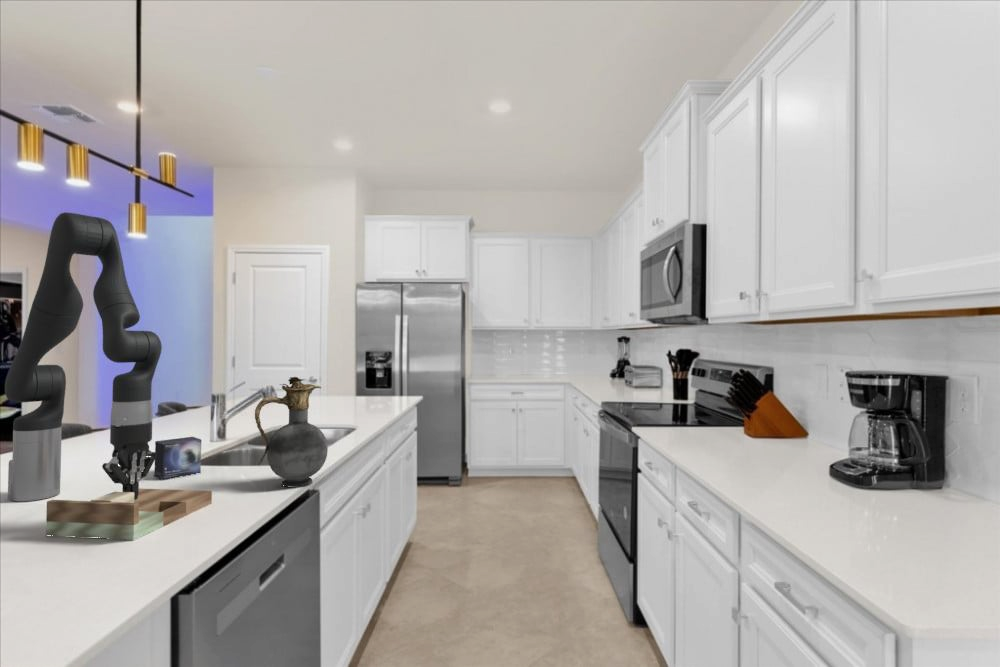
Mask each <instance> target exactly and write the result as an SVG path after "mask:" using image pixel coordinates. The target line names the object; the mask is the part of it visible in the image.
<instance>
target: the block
mask: <svg viewBox="0 0 1000 667" xmlns="http://www.w3.org/2000/svg"><path fill="white" fill-rule="evenodd" d="M90 501H97V502H123V503H134V492H122V491H113V492H110V493H106V494H105V495H102V496H98V497H94V498H92V499H90Z"/></svg>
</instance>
